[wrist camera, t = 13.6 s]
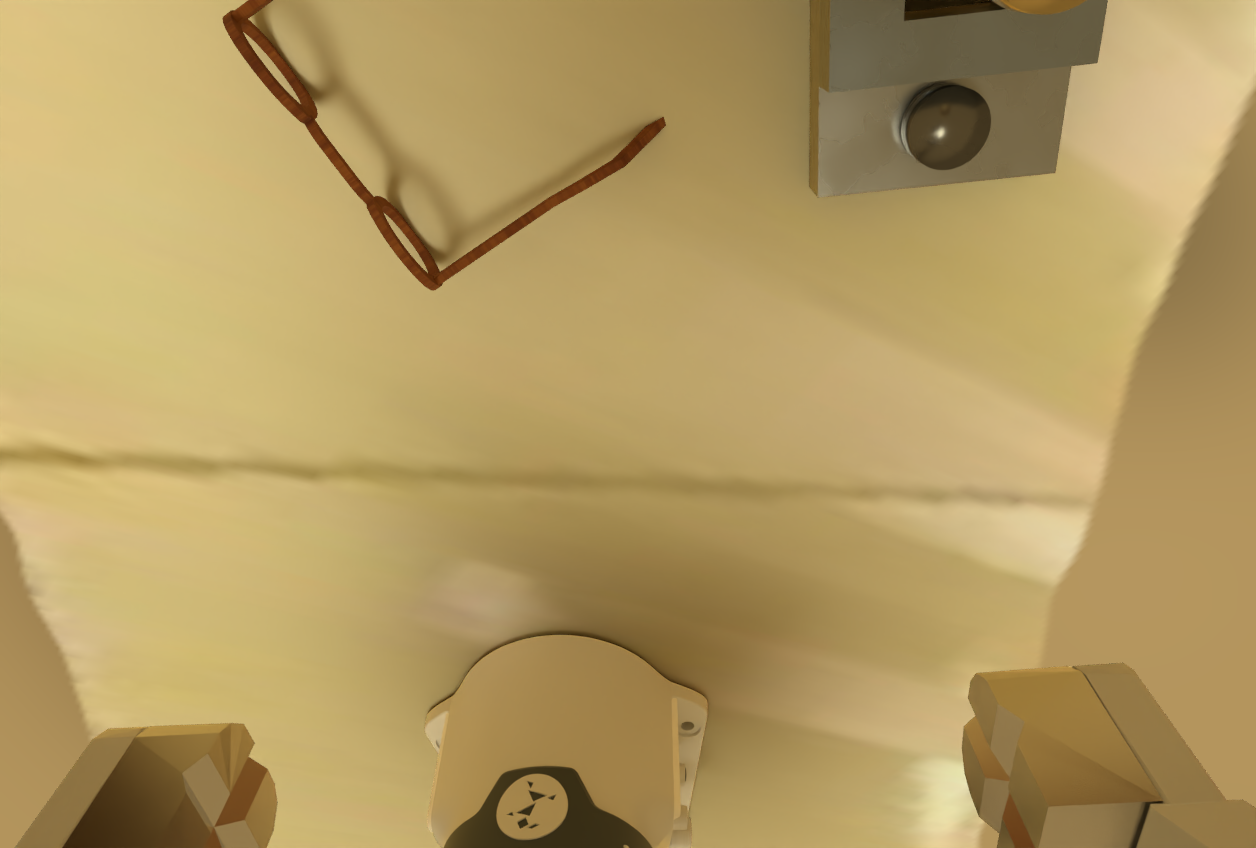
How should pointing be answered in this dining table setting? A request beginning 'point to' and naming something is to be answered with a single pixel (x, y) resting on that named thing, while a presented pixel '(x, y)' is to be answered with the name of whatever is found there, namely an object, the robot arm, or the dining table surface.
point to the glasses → (377, 205)
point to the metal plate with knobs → (939, 91)
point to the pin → (1038, 5)
